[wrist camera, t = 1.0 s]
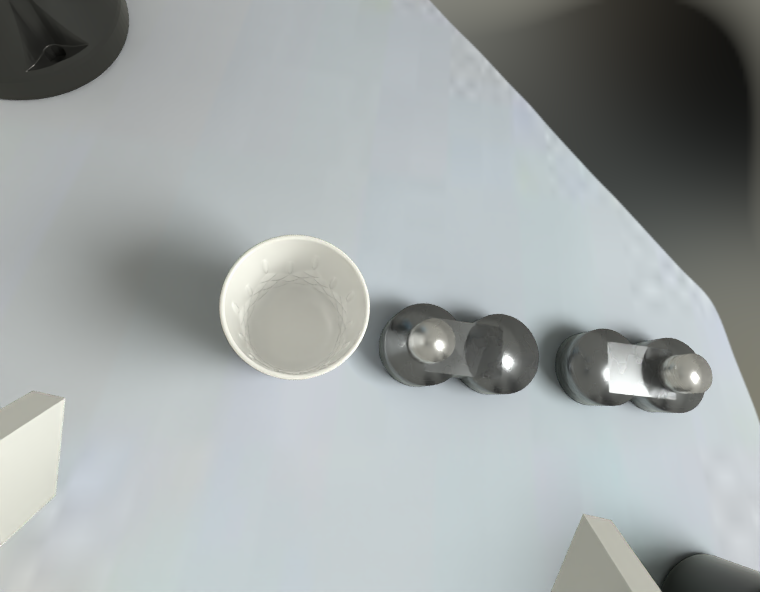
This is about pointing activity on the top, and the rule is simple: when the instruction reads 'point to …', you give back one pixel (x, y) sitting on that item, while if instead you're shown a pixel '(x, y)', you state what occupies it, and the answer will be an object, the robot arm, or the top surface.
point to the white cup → (294, 307)
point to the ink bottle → (711, 576)
